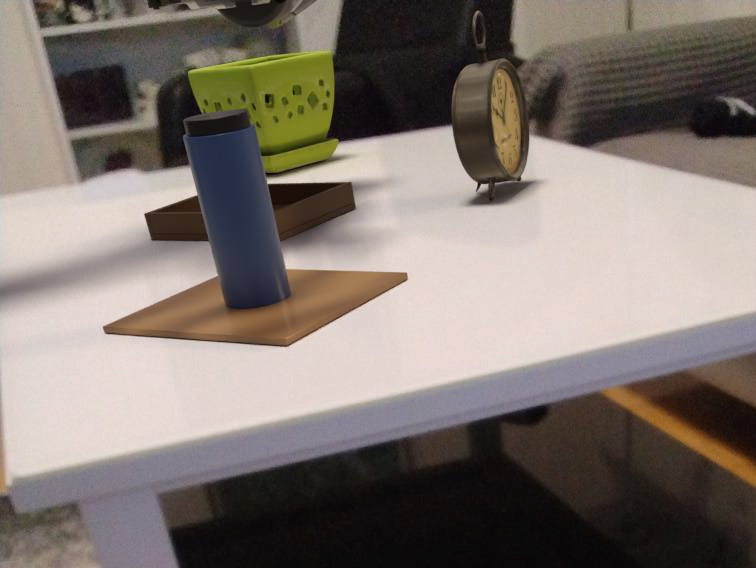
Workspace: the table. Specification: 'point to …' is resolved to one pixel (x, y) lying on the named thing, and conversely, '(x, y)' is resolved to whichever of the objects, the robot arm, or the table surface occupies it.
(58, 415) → the table surface
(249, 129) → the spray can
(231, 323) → the wooden board
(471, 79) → the alarm clock
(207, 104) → the flower pot
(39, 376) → the table surface
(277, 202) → the tray
